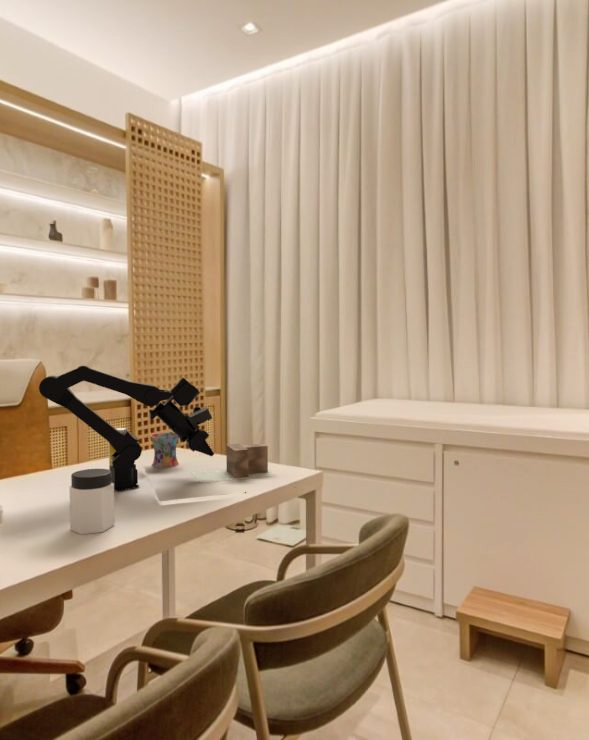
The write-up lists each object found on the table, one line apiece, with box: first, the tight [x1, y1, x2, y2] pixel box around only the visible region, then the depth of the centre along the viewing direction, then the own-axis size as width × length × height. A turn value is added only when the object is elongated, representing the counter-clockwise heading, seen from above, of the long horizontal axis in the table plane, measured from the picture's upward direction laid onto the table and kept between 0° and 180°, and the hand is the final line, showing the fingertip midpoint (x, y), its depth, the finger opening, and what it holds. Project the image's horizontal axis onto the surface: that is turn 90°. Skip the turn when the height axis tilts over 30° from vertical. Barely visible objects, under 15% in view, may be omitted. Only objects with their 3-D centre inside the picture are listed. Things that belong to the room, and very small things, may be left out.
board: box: [191, 468, 276, 484], centre depth 160 cm, size 22×13×1 cm, turn 111°
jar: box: [68, 468, 116, 535], centre depth 116 cm, size 9×8×12 cm
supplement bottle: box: [108, 427, 128, 469], centre depth 171 cm, size 7×7×13 cm
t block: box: [225, 443, 269, 479], centre depth 161 cm, size 11×10×8 cm
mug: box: [149, 432, 180, 469], centre depth 174 cm, size 12×9×11 cm
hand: (212, 455), depth 157 cm, fingers closed
